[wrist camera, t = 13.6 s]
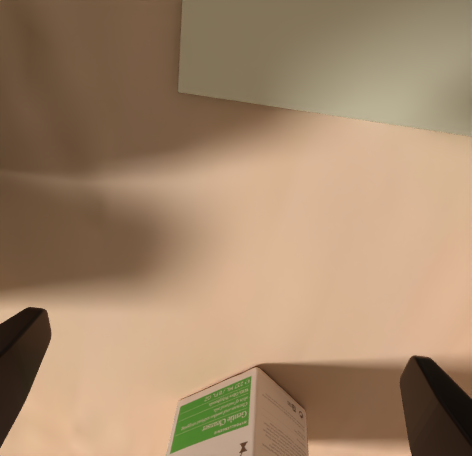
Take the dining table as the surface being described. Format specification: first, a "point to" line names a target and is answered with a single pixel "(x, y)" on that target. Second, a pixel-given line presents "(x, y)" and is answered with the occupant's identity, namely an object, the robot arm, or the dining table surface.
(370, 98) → the arena board
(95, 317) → the dining table surface
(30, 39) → the dining table surface
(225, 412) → the skincare box
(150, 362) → the dining table surface
